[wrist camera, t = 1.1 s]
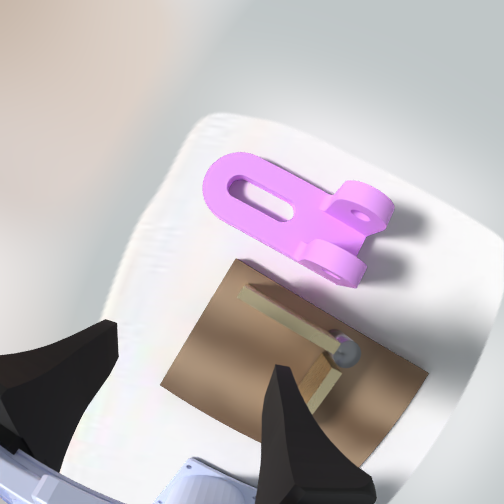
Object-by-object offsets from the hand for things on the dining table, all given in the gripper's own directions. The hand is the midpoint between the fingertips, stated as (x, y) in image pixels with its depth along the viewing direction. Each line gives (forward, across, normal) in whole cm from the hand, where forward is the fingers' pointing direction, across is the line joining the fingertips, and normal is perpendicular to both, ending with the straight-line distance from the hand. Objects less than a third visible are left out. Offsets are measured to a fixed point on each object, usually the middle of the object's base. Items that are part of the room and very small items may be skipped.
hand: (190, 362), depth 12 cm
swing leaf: (+7, -7, +7) cm, 13 cm away
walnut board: (+8, -8, +7) cm, 13 cm away
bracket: (+14, -3, -4) cm, 15 cm away
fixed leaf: (+10, -6, +2) cm, 11 cm away
